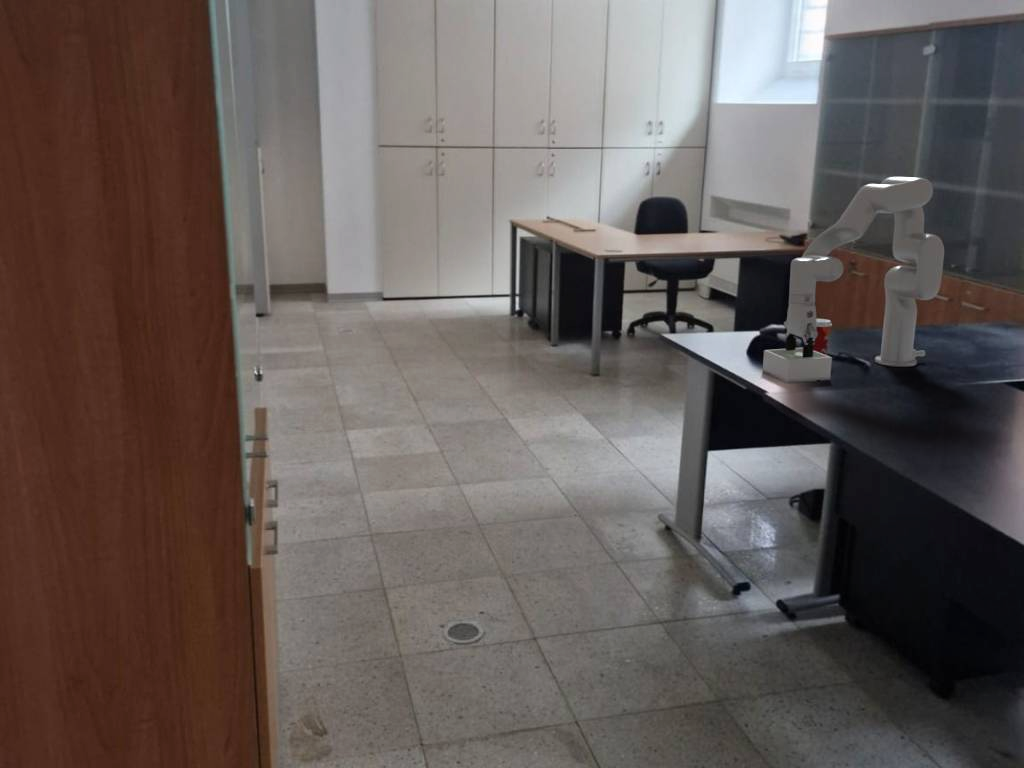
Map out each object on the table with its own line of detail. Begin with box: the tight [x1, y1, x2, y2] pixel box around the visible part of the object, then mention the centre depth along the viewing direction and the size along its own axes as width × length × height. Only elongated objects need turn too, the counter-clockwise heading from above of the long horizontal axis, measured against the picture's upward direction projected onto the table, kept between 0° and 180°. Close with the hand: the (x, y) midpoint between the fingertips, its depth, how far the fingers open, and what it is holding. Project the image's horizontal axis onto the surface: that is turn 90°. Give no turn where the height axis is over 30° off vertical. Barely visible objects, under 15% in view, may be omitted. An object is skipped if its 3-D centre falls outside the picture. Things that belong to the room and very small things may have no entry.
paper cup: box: [807, 318, 833, 356], centre depth 294 cm, size 8×8×14 cm
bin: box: [762, 347, 833, 384], centre depth 278 cm, size 15×15×7 cm
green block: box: [786, 352, 809, 360], centre depth 278 cm, size 5×5×6 cm
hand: (798, 353), depth 278 cm, fingers open, 9 cm apart
